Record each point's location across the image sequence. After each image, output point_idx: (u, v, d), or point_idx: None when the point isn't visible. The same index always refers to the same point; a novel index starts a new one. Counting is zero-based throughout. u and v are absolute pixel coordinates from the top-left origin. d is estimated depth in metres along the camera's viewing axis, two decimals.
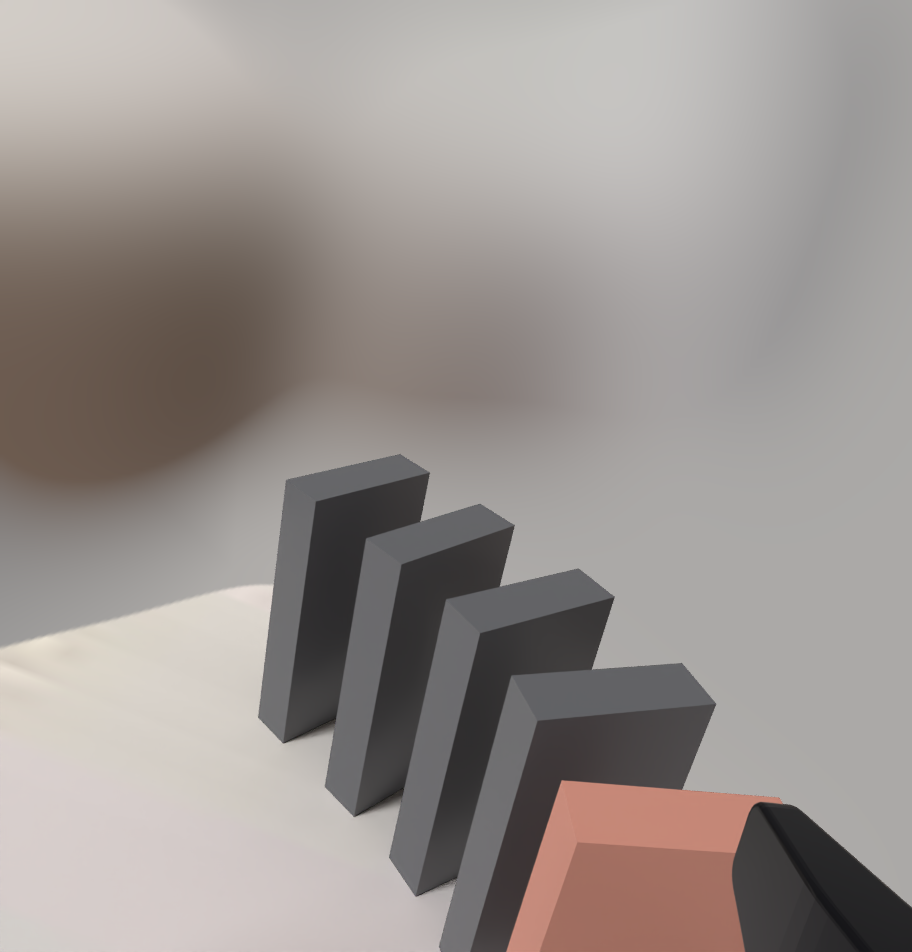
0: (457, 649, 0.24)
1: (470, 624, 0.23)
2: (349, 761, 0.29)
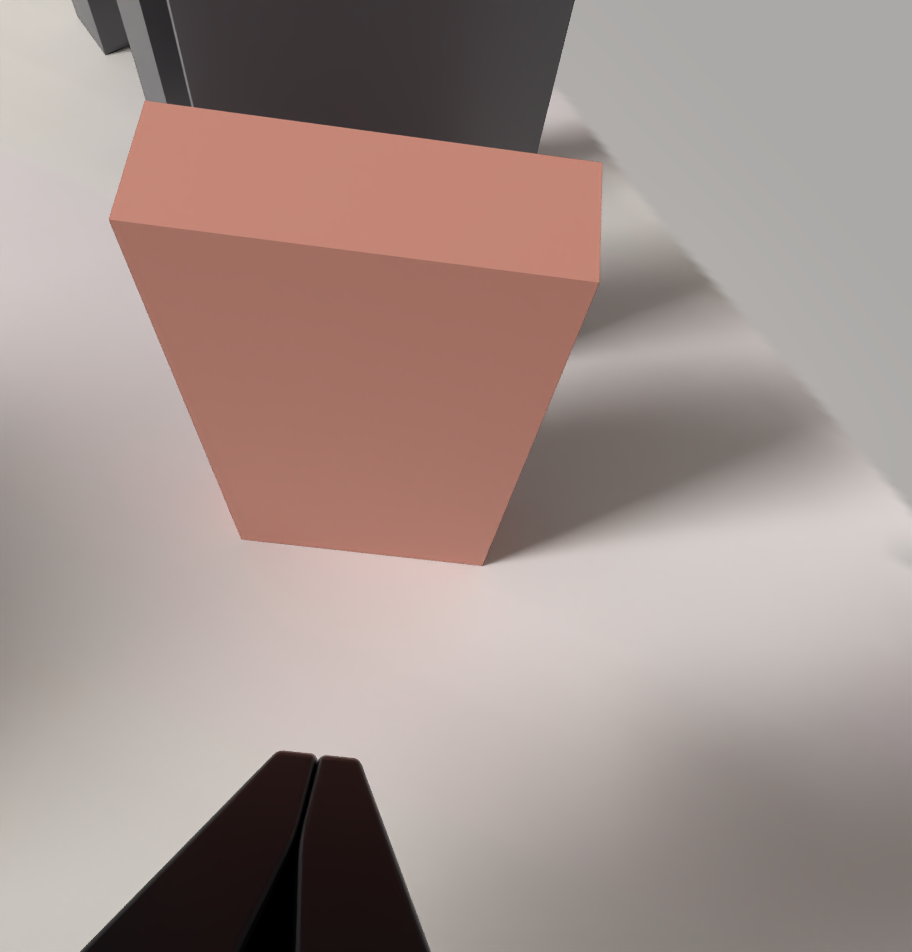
0: None
1: None
2: (152, 81, 0.20)
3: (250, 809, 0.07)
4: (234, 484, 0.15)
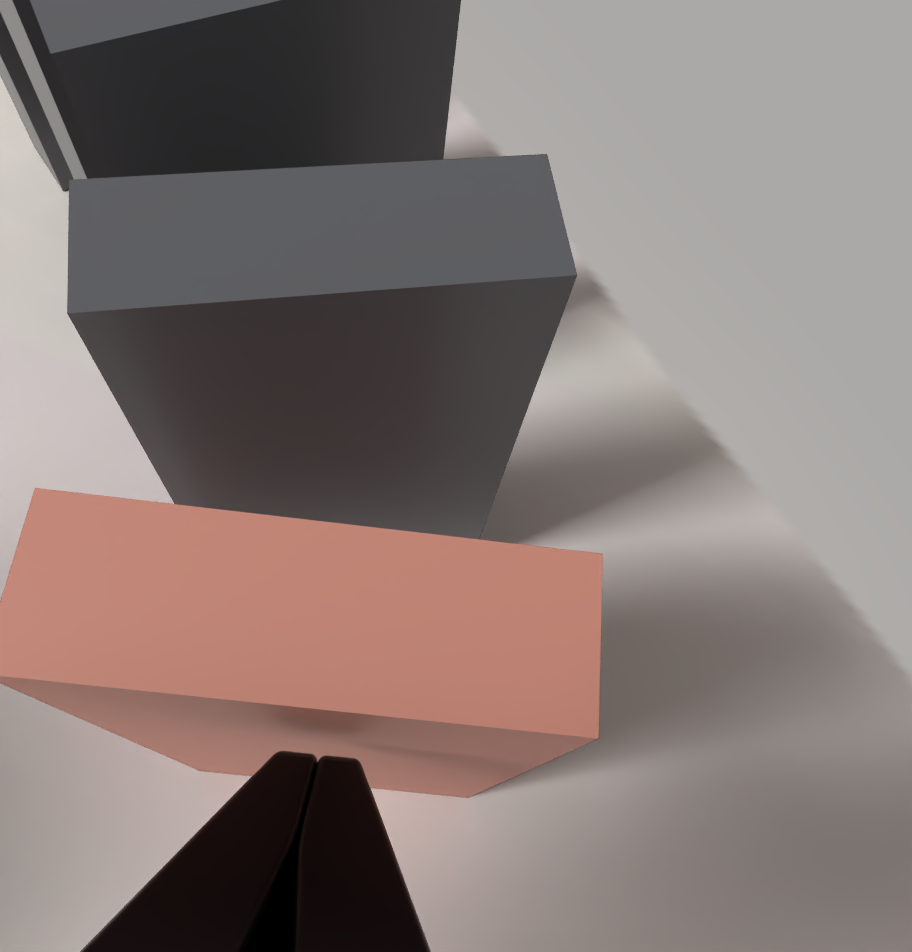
0: None
1: None
2: None
3: (250, 809, 0.07)
4: (183, 757, 0.13)
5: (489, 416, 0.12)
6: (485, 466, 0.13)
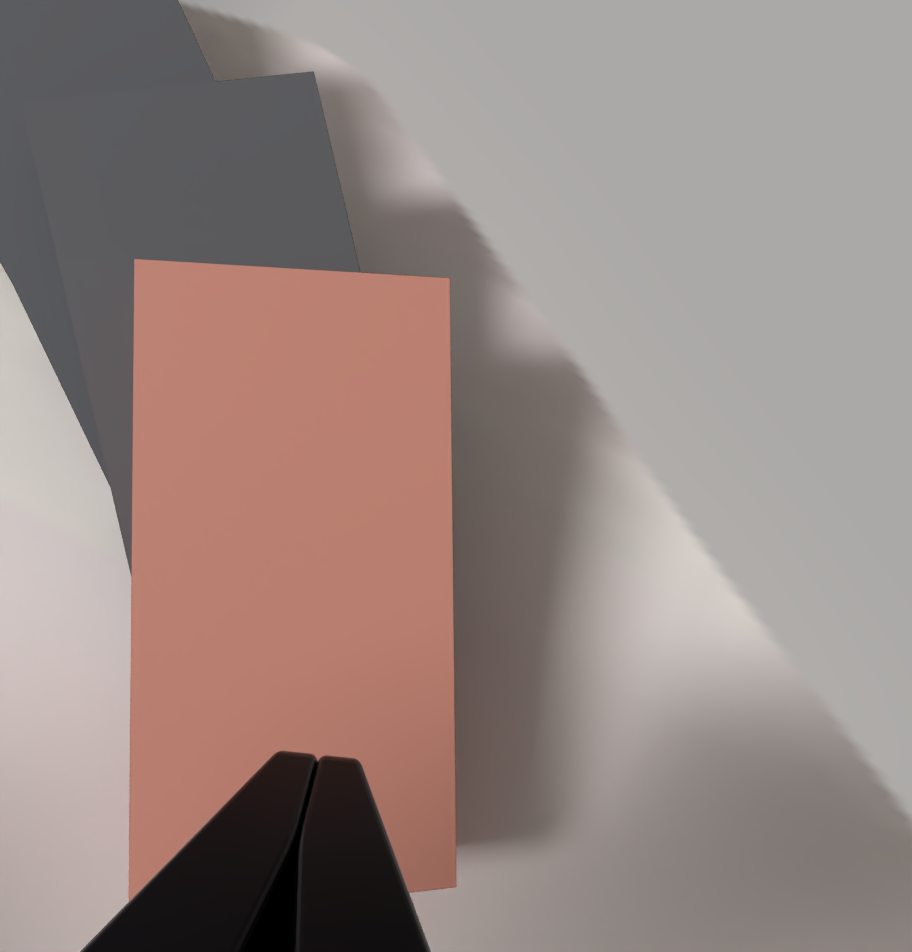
0: None
1: None
2: None
3: (250, 809, 0.07)
4: (150, 714, 0.13)
5: (325, 244, 0.16)
6: None
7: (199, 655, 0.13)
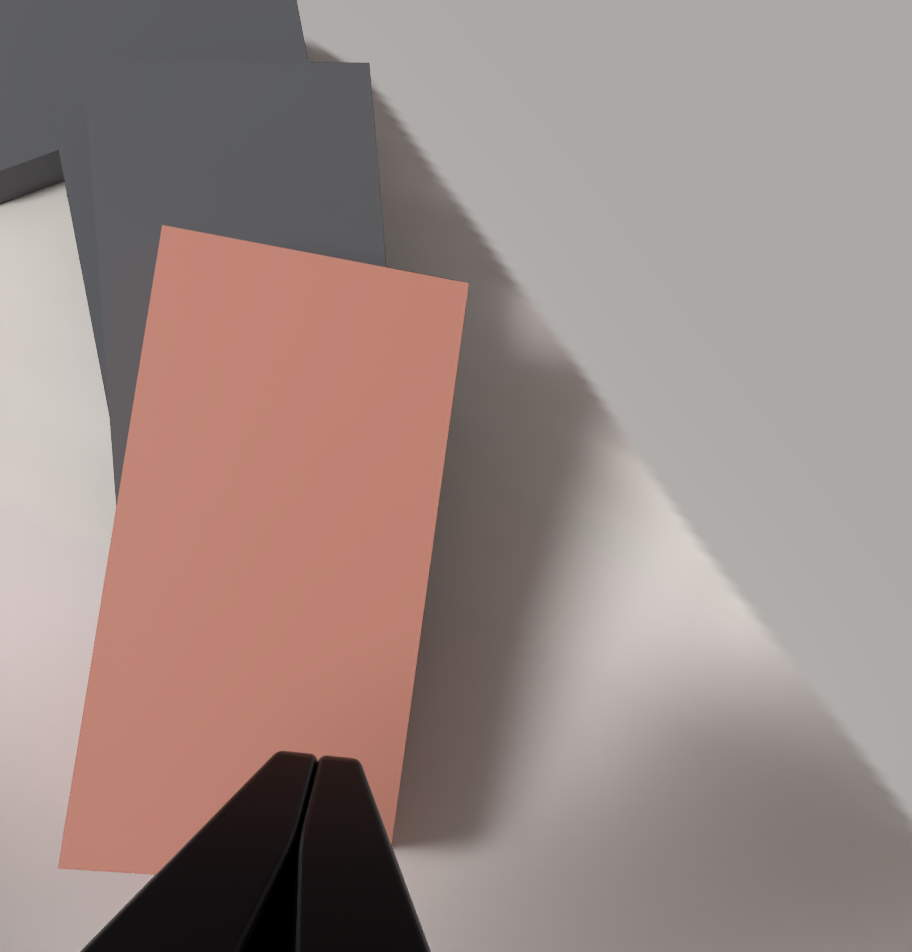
0: None
1: None
2: None
3: (250, 809, 0.07)
4: (110, 666, 0.13)
5: (356, 232, 0.16)
6: None
7: (166, 617, 0.14)
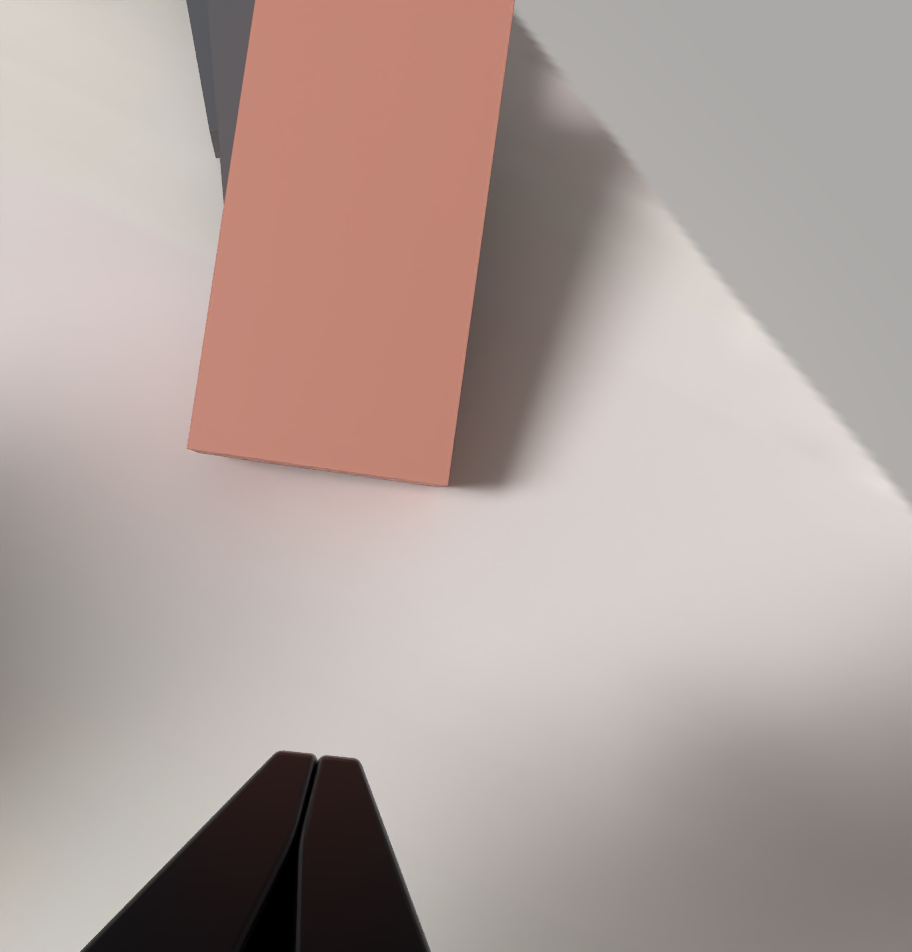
0: None
1: None
2: None
3: (250, 809, 0.07)
4: (226, 291, 0.17)
5: None
6: None
7: (270, 254, 0.17)
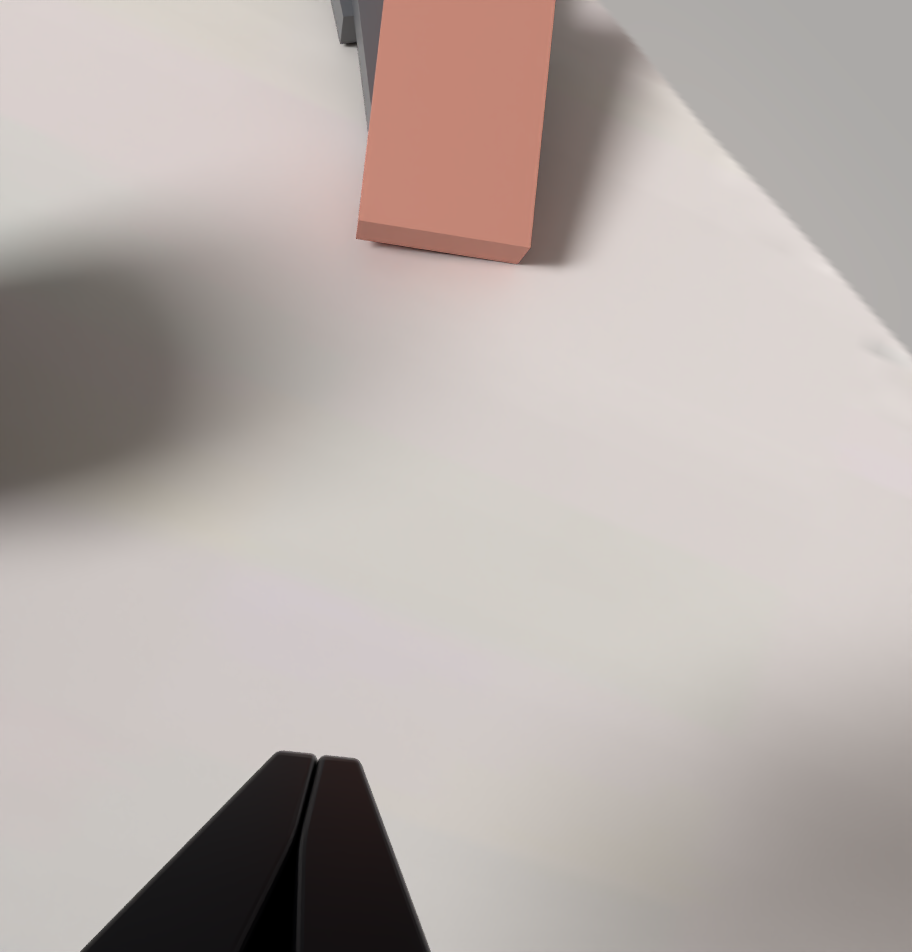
0: None
1: None
2: None
3: (250, 809, 0.07)
4: (380, 117, 0.25)
5: None
6: None
7: (408, 93, 0.25)
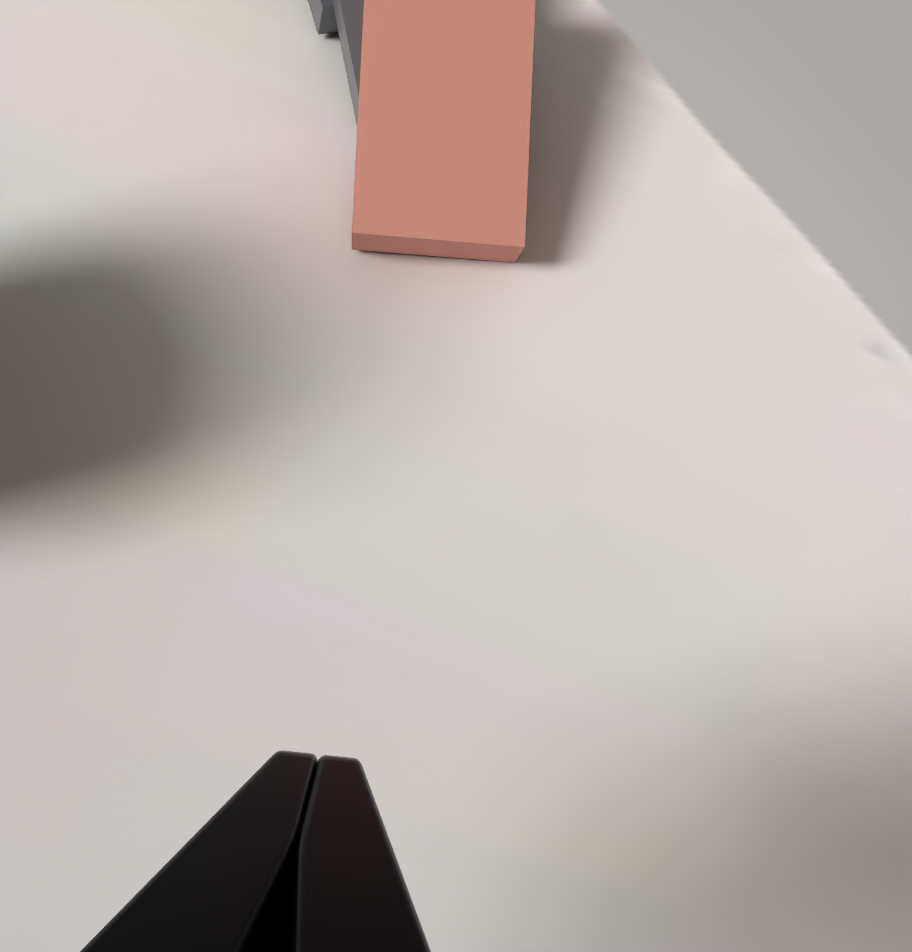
0: None
1: None
2: None
3: (250, 809, 0.07)
4: (367, 128, 0.25)
5: None
6: None
7: (393, 101, 0.25)
